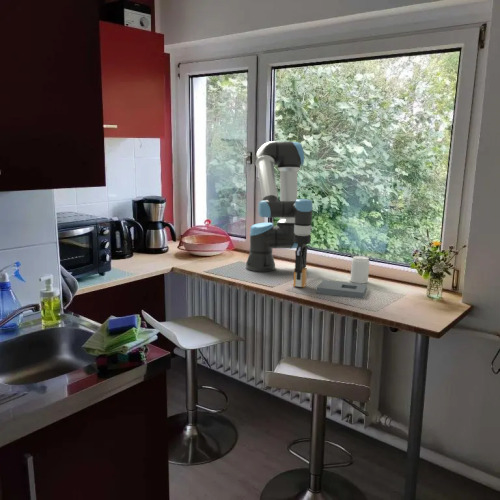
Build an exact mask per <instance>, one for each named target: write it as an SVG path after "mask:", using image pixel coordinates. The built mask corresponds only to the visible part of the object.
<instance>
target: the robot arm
mask: <svg viewBox="0 0 500 500" xmlns="http://www.w3.org/2000/svg"><path fill="white" fill-rule="evenodd" d="M304 163H305V152H304V148H303V145H302V144H301V143H300V142H298V141H274V140H273V141H272V140H271V141H268V142H265V143H263V144H262V145H261V146H260V147H259V149H258V150H257V152H256V154H255V157H254V164H255V167H256V168H257V173H258V178H259V187H260V193H261V194H260V195H261V200H259V202H258V206H257V207H258V210H257V211H258V216H259V217H261V218H266V219H267V218H279V220H278V221H277V222H276V225H274V223H273V222H260V223H259V222H258V223H255V224H252V225H251V226H250V230H249V254H248V257H247V260H246V262H245V263H246V264H245V269H246V270H249V271H253V272H272V271H274V270H276V262H275V259H274V256H273V249H284V250H285V249H286V250H287V249H288V250H289V249H295V251H294V253H295V258H294V261H295V263H294V269H295V271H294V270H293V273H294V272H296V285H295V286H294V287H297V286H298V287H297V288H303V287H302V264H303V268H307V258H308V257H307V256H308V255H307V254H308V245H310V244H311V238H312V236H311V234H312V231H313V227H312V217H313V209H314V208H313V201H312V200H311V199H308V198H298V172H299V171H300V170H301V167H302V166H303V165H304ZM275 166H277V170H278V171H279V174H280V185H279V187H280V188H279V191H280V192H279V195H280V196H278V189H277V188H278V187H277V183H276V182H277V181H276V175H275V170H274V167H275ZM279 197H280V198H279ZM279 199H280V200H279Z"/></svg>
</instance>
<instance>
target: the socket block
mask: <svg viewBox="0 0 500 500" xmlns="http://www.w3.org/2000/svg"><path fill="white" fill-rule="evenodd" d="M366 290H368V284H367V283H365V284H357V283H353V282H347V281H339V280H337V281H336V280H330V279H329V280H328V279H322V280H321V282H320V283H319V284H318V285H317V286H316V289H315V291H316V294H320V295H321V294H323V295H331V296H337V297H338V296H339V297H346V296H347V297H346V298H348V297H349V298H354V297H356V298H357V299H362V298H363V299H364V297H365V295H366V292H367V291H366ZM356 298H355V299H356Z"/></svg>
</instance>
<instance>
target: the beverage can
mask: <svg viewBox="0 0 500 500" xmlns="http://www.w3.org/2000/svg"><path fill="white" fill-rule="evenodd" d="M369 259H370V258H369V257H367V256H364V255H353V256H352V259H351V266H350V283H357V284H367V283H368V281H369V274H370V273H369V272H370V260H369Z"/></svg>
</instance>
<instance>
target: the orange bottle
mask: <svg viewBox="0 0 500 500" xmlns="http://www.w3.org/2000/svg"><path fill="white" fill-rule="evenodd" d="M294 271H295V268H294V269H293V284H292V285H293V287H297V288H299V287H298V286H295V285H296V272H294ZM307 275H308V267H305V268H303V264H302V287H301V288H305V287H306V286H307V277H308V276H307Z"/></svg>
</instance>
